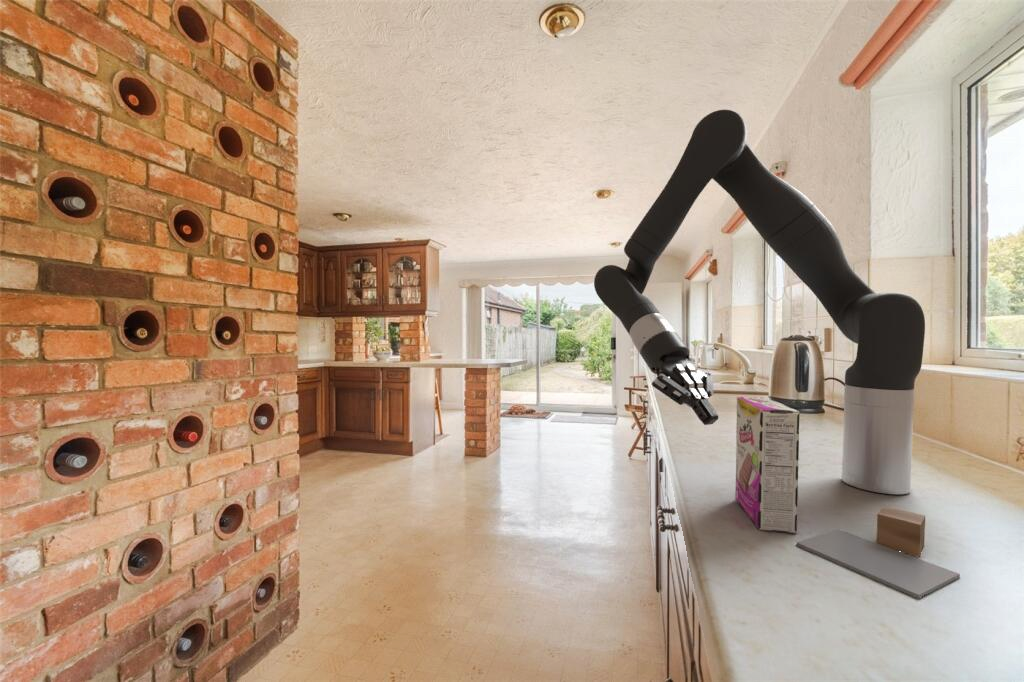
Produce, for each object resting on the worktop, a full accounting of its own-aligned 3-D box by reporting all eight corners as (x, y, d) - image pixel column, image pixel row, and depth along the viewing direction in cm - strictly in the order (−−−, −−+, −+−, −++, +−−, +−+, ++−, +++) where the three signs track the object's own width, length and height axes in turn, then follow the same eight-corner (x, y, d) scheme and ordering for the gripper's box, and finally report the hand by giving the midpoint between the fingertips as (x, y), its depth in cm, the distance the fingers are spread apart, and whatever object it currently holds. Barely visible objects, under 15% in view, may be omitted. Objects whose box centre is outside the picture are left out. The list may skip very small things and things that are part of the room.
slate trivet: (838, 531, 59) (838, 528, 59) (959, 577, 48) (959, 573, 48) (796, 545, 55) (796, 542, 55) (918, 598, 44) (918, 594, 44)
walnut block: (882, 535, 58) (883, 505, 58) (924, 547, 55) (925, 515, 55) (876, 545, 55) (877, 513, 55) (919, 558, 52) (920, 524, 52)
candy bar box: (732, 499, 70) (735, 396, 69) (767, 502, 69) (770, 397, 68) (756, 531, 59) (760, 408, 58) (798, 535, 58) (802, 410, 57)
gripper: (640, 328, 77) (696, 411, 66) (695, 329, 82) (755, 405, 72) (620, 357, 82) (669, 438, 71) (673, 356, 87) (725, 431, 77)
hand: (712, 421), depth 71 cm, fingers closed
